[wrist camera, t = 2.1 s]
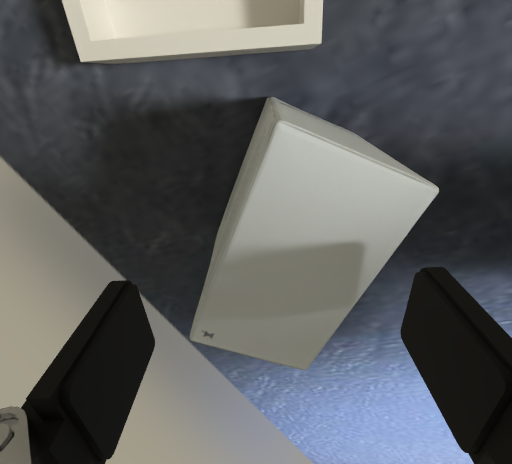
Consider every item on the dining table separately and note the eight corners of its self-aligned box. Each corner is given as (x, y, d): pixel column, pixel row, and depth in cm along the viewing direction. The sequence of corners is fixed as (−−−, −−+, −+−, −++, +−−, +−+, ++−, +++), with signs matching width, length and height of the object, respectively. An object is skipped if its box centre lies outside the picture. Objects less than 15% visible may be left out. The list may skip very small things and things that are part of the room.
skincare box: (292, 258, 23) (308, 378, 14) (217, 231, 22) (181, 341, 13) (360, 133, 18) (452, 192, 9) (268, 93, 17) (266, 113, 8)
